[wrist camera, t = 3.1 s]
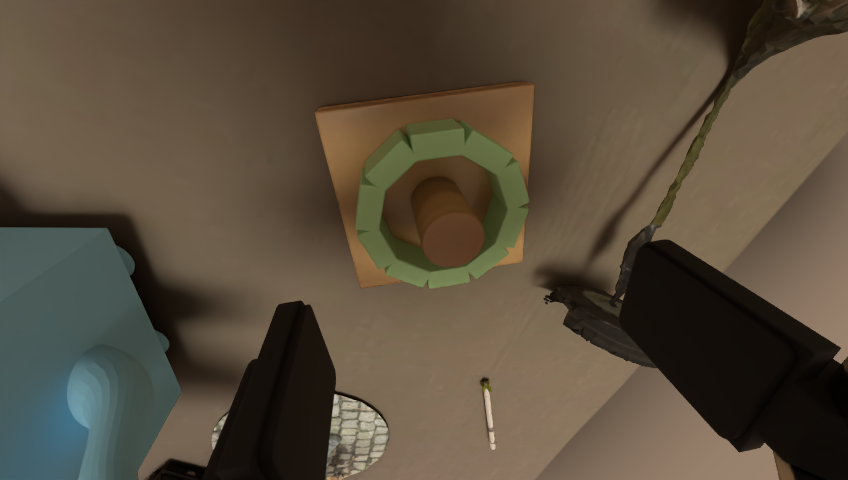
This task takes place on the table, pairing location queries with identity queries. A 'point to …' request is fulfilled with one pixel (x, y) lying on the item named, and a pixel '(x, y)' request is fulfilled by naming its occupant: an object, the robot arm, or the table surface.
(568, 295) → the artificial flower
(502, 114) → the stand
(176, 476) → the toy car
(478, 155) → the ring
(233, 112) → the table surface
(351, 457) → the figurine
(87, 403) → the teapot
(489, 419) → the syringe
